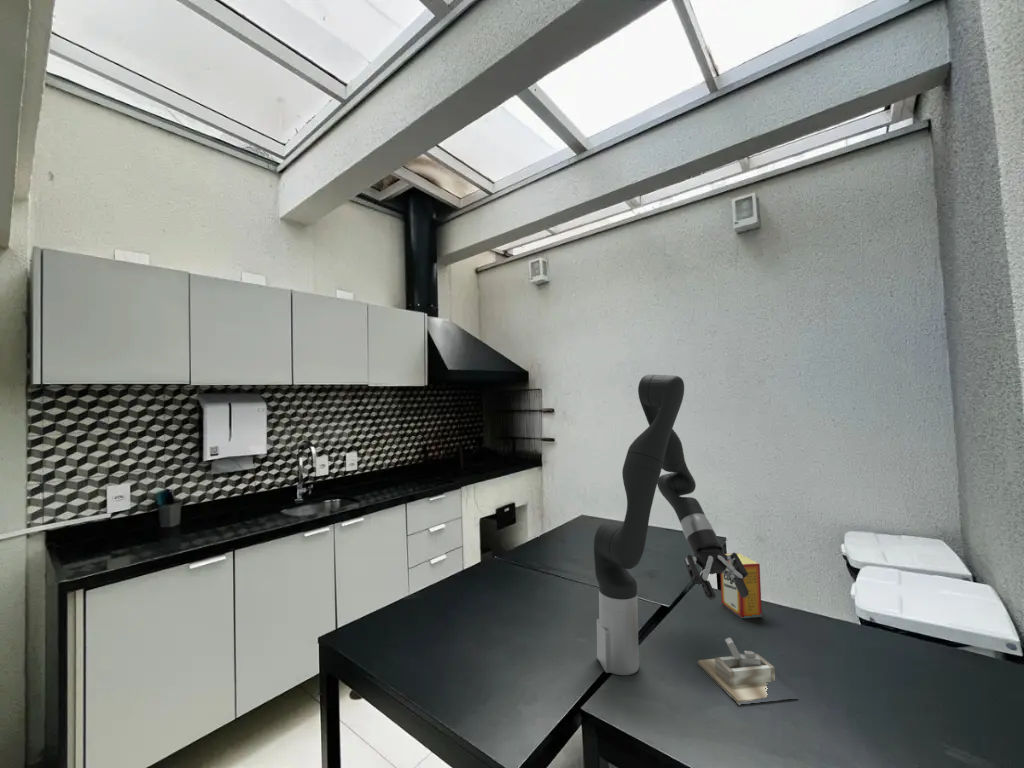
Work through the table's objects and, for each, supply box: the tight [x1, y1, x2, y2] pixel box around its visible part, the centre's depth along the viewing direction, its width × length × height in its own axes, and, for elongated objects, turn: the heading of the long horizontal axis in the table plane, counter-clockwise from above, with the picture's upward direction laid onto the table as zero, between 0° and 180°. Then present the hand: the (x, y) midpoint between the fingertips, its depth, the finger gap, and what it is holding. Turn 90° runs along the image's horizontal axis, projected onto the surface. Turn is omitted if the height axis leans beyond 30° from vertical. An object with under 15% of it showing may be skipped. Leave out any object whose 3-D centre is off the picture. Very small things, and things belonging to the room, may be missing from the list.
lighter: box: [724, 637, 761, 668], centre depth 93 cm, size 7×2×8 cm, turn 85°
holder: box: [697, 653, 776, 703], centre depth 93 cm, size 14×14×4 cm
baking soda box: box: [720, 552, 763, 617], centre depth 126 cm, size 10×6×16 cm
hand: (729, 597), depth 98 cm, fingers open, 8 cm apart
